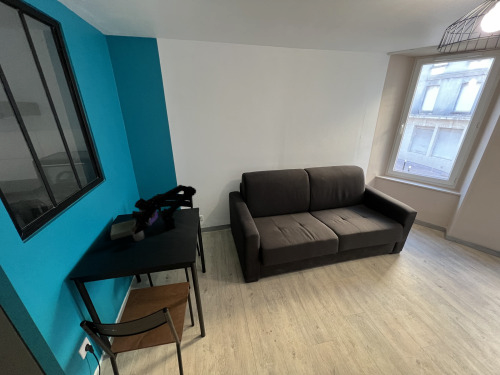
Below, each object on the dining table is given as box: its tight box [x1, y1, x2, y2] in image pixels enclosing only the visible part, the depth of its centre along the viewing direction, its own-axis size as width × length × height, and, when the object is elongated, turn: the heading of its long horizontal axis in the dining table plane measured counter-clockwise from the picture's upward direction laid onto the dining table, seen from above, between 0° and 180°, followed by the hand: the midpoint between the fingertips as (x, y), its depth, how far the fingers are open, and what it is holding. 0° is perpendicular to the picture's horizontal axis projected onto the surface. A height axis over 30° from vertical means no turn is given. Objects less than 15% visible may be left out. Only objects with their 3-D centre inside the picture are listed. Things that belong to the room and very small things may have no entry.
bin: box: [110, 218, 137, 241], centre depth 139 cm, size 15×15×4 cm
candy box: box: [138, 209, 159, 227], centre depth 149 cm, size 14×6×16 cm, turn 179°
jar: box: [131, 226, 145, 242], centre depth 131 cm, size 6×6×8 cm
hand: (134, 230), depth 129 cm, fingers open, 8 cm apart
